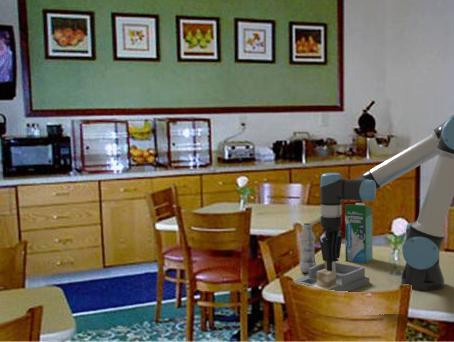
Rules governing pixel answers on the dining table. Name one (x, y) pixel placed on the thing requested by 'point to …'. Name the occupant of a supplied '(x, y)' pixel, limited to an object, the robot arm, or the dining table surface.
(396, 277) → the dining table surface
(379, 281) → the dining table surface
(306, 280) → the cubby deck
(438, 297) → the dining table surface
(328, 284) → the maple cube
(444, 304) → the dining table surface
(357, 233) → the milk carton
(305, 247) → the plastic bottle
